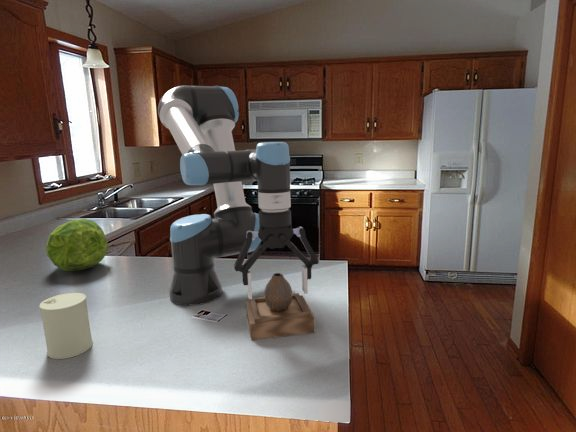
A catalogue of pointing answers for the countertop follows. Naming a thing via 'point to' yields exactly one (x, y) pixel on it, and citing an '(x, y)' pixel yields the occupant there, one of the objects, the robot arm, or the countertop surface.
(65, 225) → the lettuce
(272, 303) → the vase
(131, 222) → the countertop surface
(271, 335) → the brown wooden flat box
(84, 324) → the can
